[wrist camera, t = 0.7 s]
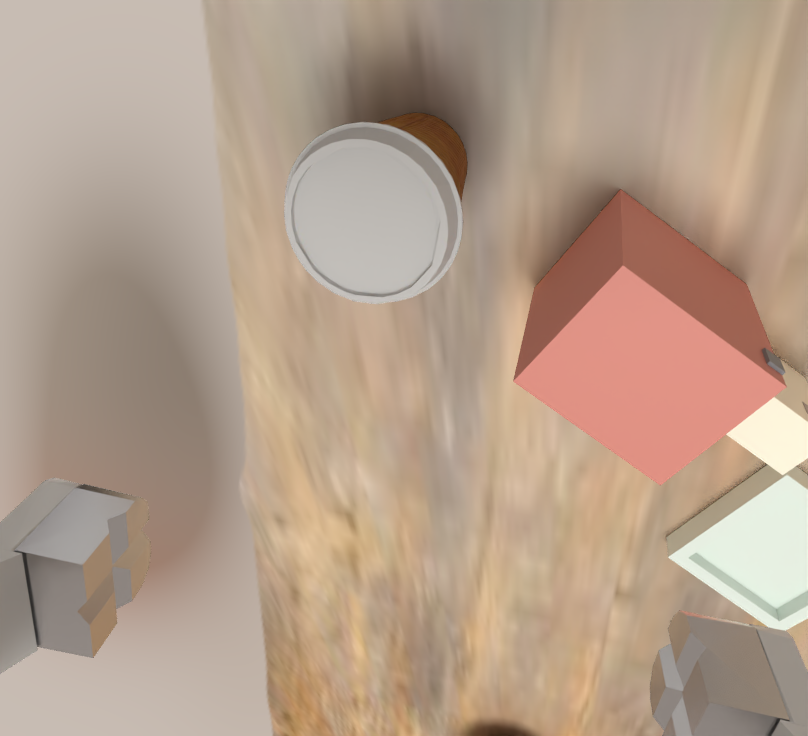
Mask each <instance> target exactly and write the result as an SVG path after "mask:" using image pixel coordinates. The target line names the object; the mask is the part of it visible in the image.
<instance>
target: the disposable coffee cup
mask: <svg viewBox="0 0 808 736" xmlns="http://www.w3.org/2000/svg"><path fill="white" fill-rule="evenodd" d="M466 174H467V157H466V152H465V149H464V146H463V143H462V141H461V140H460V138H459V136H458V135H457V133H456V132H455V131H454V130H453V129H452V128H451V127H450V126H449V125H448V124H447V123H446V122H444V121H443V120H441V119H439V118H437V117H435V116H432V115H428V114H424V113H410V114H405V115H402V116H399V117H395V118H392V119H388V120H384V121H381V122H378V123H372V122H358V123H350V124H345V125H341V126H338V127H336V128H333V129H330V130H328V131H327V132H325V133H323V134H321V135H320V136H318V137H316V138H315V139H314V140H313V141H312V142H311V143H310V144H308V145H307V146H306V148H305V149H304V150H303V151H302V152H301V154H300V155H299V156H298V158H297V160H296V161H295V163H294V165H293V167H292V169H291V172H290V174H289V177H288V181H287V185H286V192H285V209H284V217H285V225H286V231H287V234H288V237H289V240H290V243H291V246H292V249H293V250H294V252H295V254H296V256H297V258H298V260H299V261H300V263H301V264H302V265H303V267H304V268H305V269H306V271H307V272H308V273H309V274H310V275H311V276H312V277H313V278H314V279H315V280H316V281H317V282H319V283H320V284H321V285H323V286H324V287H326V288H327V289H329V290H330V291H332V292H333V293H335V294H337V295H340V296H342V297H345V298H347V299H350V300H352V301H356V302H363V303H371V304H381V303H388V302H396V301H400V300H404V299H408V298H412V297H414V296H416V295H418V294H420V293H422V292H424V291H426V290H427V289H429V288H430V287H432V286H433V285H434V284H435V283H436V282H437V281H439V280H440V279H441V278H442V277H443V275H444V274H445V273H446V271H447V270H448V269H449V267H450V266H451V264H452V262H453V260H454V258H455V256H456V254H457V252H458V248H459V245H460V241H461V237H462V228H463V215H462V207H461V200H462V194H463V189H464V183H465V178H466Z"/></svg>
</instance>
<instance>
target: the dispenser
mask: <svg viewBox="0 0 808 736" xmlns="http://www.w3.org/2000/svg"><path fill="white" fill-rule="evenodd" d="M785 373H786V372H785V370H784V367H783V365H782V362H781V360H780V358H778V357H777V356H776V355H774V353H773V350H772V348H771V345H770V343H769V340H768V338H767V335H766V332H765V330H764V327H763V325H762V322H761V320H760V317H759V314H758V312H757V309H756V307H755V304H754V302H753V299H752V297H751V294H750V291H749V289H748V286H747V284H746V283H744V282H743V281H742V280H740V279H739V278H738V277H736V276H735V275H734V274H732V273H731V272H730V271H728V270H727V269H726V268H724V267H723V266H722V265H720V264H719V263H718V262H716V261H715V260H714V259H712V258H711V257H710V256H708V255H707V254H706V253H705V252H703V251H702V250H701V249H699V248H698V247H697V246H695V245H694V244H693V243H691V242H690V241H689V240H687V239H686V238H685V237H683V236H682V235H681V234H679V233H678V232H677V231H675V230H674V229H673V228H671V227H670V226H669V225H667V224H666V223H665V222H664V221H662V220H661V219H660V218H658V217H657V216H656V215H654V214H653V213H652V212H650V211H649V210H648V209H646V208H645V207H644V206H642V205H641V204H640V203H638V202H637V201H636V200H634V199H633V198H632V197H630V196H629V195H628V194H627V193H625V192H624V191H623V190H621V189H620V190H619V192H618V193H617V194H616V195H615V196H614V197H613V198H612V200H611V201H610V202H609V203H608V204H607V205H606V206H605V208H604V209H603V210H602V211H601V212H600V213H599V214H598V216H597V217H596V218H595V219H594V220H593V221H592V222H591V224H590V225H589V226H588V227H587V228H586V229H585V231H584V232H583V233H582V234H581V235H580V236H579V237H578V239H577V240H576V241H575V242H574V243H573V244H572V245H571V247H570V248H569V249H568V250H567V251H566V252H565V253H564V255H563V256H562V257H561V258H560V259H559V260H558V261H557V263H556V264H555V265H554V266H553V267H552V268H551V269H550V271H549V272H548V273H547V274H546V275H545V276H544V278H543V279H542V280H541V281H540V282H539V283H538V284H537V286H536V287H535V288H534V292H533V297H532V301H531V305H530V310H529V314H528V319H527V323H526V328H525V332H524V336H523V341H522V345H521V350H520V354H519V358H518V363H517V367H516V372H515V376H514V380H513V382H515V383H516V384H518V385H519V386H521V387H522V388H523V389H525V390H526V391H528V392H529V393H530V394H532V395H533V396H535V397H536V398H537V399H539V400H540V401H542V402H543V403H545V404H546V405H547V406H549V407H550V408H552V409H553V410H554V411H556V412H557V413H559V414H560V415H562V416H563V417H564V418H566V419H567V420H569V421H570V422H571V423H573V424H574V425H576V426H577V427H578V428H580V429H581V430H583V431H584V432H586V433H587V434H588V435H590V436H591V437H593V438H594V439H595V440H597V441H598V442H600V443H601V444H603V445H604V446H605V447H607V448H608V449H610V450H611V451H612V452H614V453H615V454H617V455H618V456H619V457H621V458H622V459H624V460H625V461H627V462H628V463H629V464H631V465H632V466H634V467H635V468H636V469H638V470H639V471H641V472H642V473H644V474H645V475H646V476H648V477H649V478H651V479H652V480H653V481H655V482H656V483H658V484H659V485H661V484H663V483H664V482H665V481H667V480H668V479H669V478H670V477H672V476H673V475H674V474H676V473H677V472H678V471H679V470H681V469H682V468H683V467H685V466H686V465H687V464H688V463H690V462H691V461H692V460H694V459H695V458H696V457H697V456H699V455H700V454H701V453H703V452H704V451H705V450H706V449H708V448H709V447H710V446H712V445H713V444H714V443H715V442H717V441H718V440H719V439H721V438H722V437H723V436H724V435H726V434H727V433H728V432H730V431H731V430H732V429H733V428H735V427H736V426H737V425H739V424H740V423H741V422H742V421H744V420H745V419H746V418H748V417H749V416H750V415H752V414H753V413H754V412H755V411H757V410H758V409H759V408H761V407H762V406H763V405H764V404H766V403H767V402H768V401H770V400H771V399H772V398H773V397H775V396H776V395H777V394H779V393H780V392H781V391H782V390H784V389H785V388H786V387H787V386H786V384H785V381H784V378H783V376H782V375H783V374H785Z"/></svg>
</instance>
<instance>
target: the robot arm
mask: <svg viewBox="0 0 808 736" xmlns="http://www.w3.org/2000/svg"><path fill="white" fill-rule="evenodd" d="M148 520H149V510H148V502H147V501H146V500H144V499H143V498H141V497H137V496H132V495H128V494H123V493H119V492H115V491H111V490H107V489H103V488H98V487H94V486H90V485H85V484H83V485H82V484H78V483H74V482H70V481H66V480H62V479H57V478H52V479H48V480H45V481H44V482H42V483H41V484H40V485H39V486H38V487H37V488H36V489H35V490H34V491H33V492H32V493H31V494H30V495H29V496H28V497H27V498H26V499H24V500H23V501H22V502H21V503H20V504H19V505H18V506H17V507H16V508H15V509H14V510H13V511H12V512H11V513H10V514H9V515H8V516H7V517H5V518H4V519H3V520H2V521H1V522H0V674H1V673H2V672H4V671H6V670H7V669H8V668H10V667H12V666H13V665H15V664H16V663H18V662H20V661H21V660H23V659H25V658H26V657H27V656H29V655H31V654H32V653H34V652H36V651H37V650H38V648H37V647H41V648H47V649H51V650H56V651H61V652H66V653H71V654H76V655H81V656H86V657H91V658H94V656H95V654H96V653H97V651H98V650H99V649H100V647H101V646H102V644H103V643H104V641H105V640H106V638H107V637H108V636H109V634H110V633H111V631H112V630H113V628H114V627H115V625H116V624H117V615H116V609H117V608H119V607H121V606H123V605H125V604H127V603H129V602H131V601H132V600H133V599H134V597H135V596H136V594H137V593H138V591H139V590H140V588H141V586H142V584H143V581H144V579H145V576H146V574H147V571H148V568H149V563H150V556H151V542H150V540H149V539H148V537H147V536H146V535H145V533H144V532H143V531H142V528H143V527H144V525H145V524H146V523H147V521H148ZM668 632H669V636H670V641H671V644H669V645H667V646H665V647H664V648H662V649H660V650H659V651H658V654H657V656H656V659H655V662H654V664H653V668H652V675H651V682H650V701H651V707H652V714H653V717H654V718H655V720H656V721H657V722H658V723H659V725H660V726H661V727H662V728H663V730H664V733H663V735H662V736H808V671H807V669H806V667H805V664H804V662H803V660H802V658H801V655H800V653H799V651H798V648H797V646H796V644H795V641H794V639H793V637H792V636H791V635H790V634H789V633H788V632H787V631H784V630H779V629H774V628H768V627H763V626H758V625H753V624H749V625H748V624H745V623H740V622H735V621H730V620H725V619H721V618H716V617H711V616H706V615H701V614H696V613H691V612H686V611H681V610H679V611H678V612H677V613H676V614H675V615H674V616H673V618H672V621H671V623H670V625H669V627H668Z"/></svg>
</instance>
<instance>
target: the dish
mask: <svg viewBox="0 0 808 736" xmlns="http://www.w3.org/2000/svg"><path fill="white" fill-rule="evenodd" d="M666 540H667V551H668V558H670V559H671V560H673V561H674V562H676V563H677V564H678V565H680V566H681V567H683V568H684V569H686V570H687V571H688V572H690V573H691V574H693V575H694V576H696V577H697V578H699V579H700V580H701V581H703V582H704V583H706V584H707V585H709V586H710V587H711V588H713V589H714V590H716V591H717V592H719V593H720V594H722V595H723V596H724V597H726V598H727V599H729V600H730V601H732V602H733V603H735V604H736V605H737V606H739V607H740V608H742V609H743V610H745V611H746V612H747V613H749V614H750V615H752V616H753V617H755V618H756V619H758V620H759V621H760V622H762V623H763V624H765V625H766V626H768V627H769V628H774V629H779V630H784V631H785V630H787V629H789V628H791V627H793V626H795V625H796V624H798V623H800V622H802V621H804V620H806V619H807V618H808V475H807V474H806V473H805V472H803V471H802V470H801V469H799V468H798V467H796V466H795V467H794V468H793V469H791V470H790V471H788V472H787V473H785V474H784V475H782V474H780V473H779V472H777V471H776V470H775V469H773V468H772V467H771V466H769V465H768V464H767V465H766V466H765V467H763V468H762V469H760V470H759V471H758V472H756V473H755V474H753V475H752V476H751V477H749V478H748V479H746V480H745V481H744V482H742V483H741V484H739V485H738V486H737V487H735V488H734V489H732V490H731V491H730V492H728V493H727V494H725V495H724V496H723V497H721V498H720V499H718V500H717V501H716V502H714V503H713V504H712V505H710V506H709V507H707V508H706V509H705V510H703V511H702V512H700V513H699V514H698V515H696V516H695V517H693V518H692V519H691V520H689V521H688V522H686V523H685V524H684V525H682V526H681V527H679V528H678V529H677V530H675V531H674V532H672V533H671V534H670V535H668V536H667V537H666Z"/></svg>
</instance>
